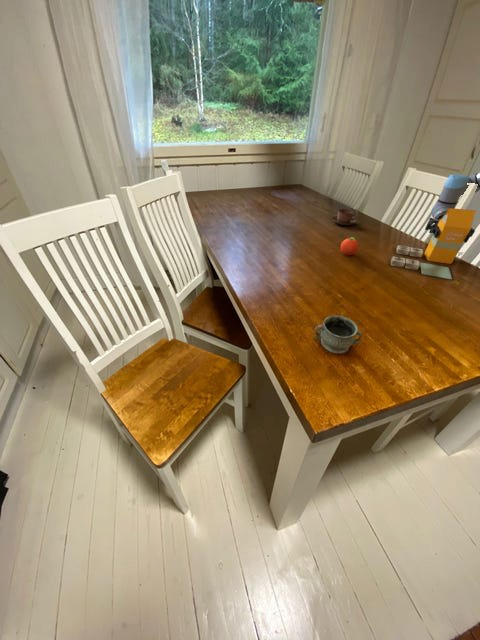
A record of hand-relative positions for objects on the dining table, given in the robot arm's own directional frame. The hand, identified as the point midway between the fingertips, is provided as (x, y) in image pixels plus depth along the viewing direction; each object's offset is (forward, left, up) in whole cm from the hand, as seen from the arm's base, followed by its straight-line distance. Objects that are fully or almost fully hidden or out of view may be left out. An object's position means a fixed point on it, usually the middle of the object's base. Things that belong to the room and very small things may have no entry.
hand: (452, 236), depth 104 cm
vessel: (+31, +67, -11) cm, 74 cm away
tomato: (+35, +8, -11) cm, 38 cm away
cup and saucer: (+42, -30, -11) cm, 53 cm away
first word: (+11, -4, -11) cm, 16 cm away
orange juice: (0, -4, -11) cm, 12 cm away
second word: (+7, +9, -11) cm, 16 cm away
